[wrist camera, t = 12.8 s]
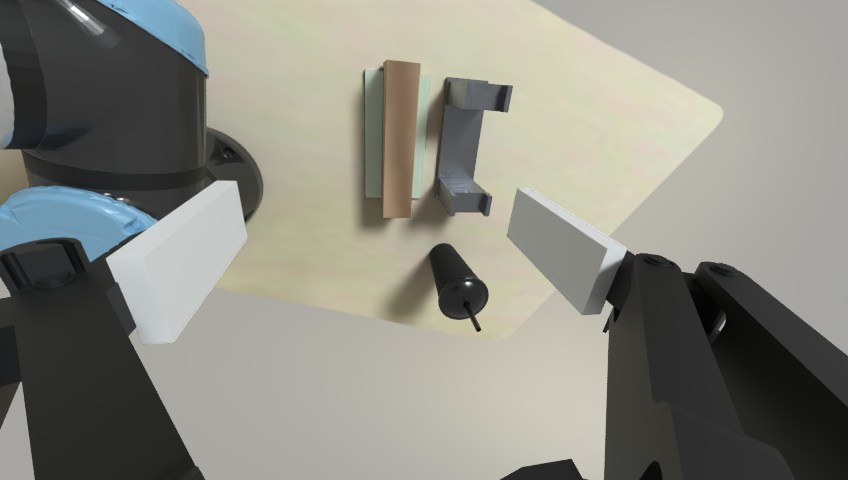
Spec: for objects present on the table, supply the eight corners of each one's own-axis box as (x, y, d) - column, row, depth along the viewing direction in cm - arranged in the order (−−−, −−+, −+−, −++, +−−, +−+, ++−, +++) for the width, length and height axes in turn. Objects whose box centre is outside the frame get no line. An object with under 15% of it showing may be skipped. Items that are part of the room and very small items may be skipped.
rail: (380, 203, 51) (383, 217, 45) (383, 62, 42) (387, 59, 36) (405, 203, 51) (410, 217, 46) (412, 65, 43) (420, 63, 37)
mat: (365, 196, 50) (365, 197, 50) (365, 69, 42) (365, 69, 42) (420, 197, 52) (420, 198, 51) (429, 75, 44) (430, 75, 43)
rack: (434, 197, 52) (449, 219, 44) (446, 77, 45) (466, 76, 36) (468, 198, 54) (488, 219, 45) (486, 81, 46) (514, 81, 37)
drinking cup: (449, 228, 56) (491, 295, 38) (469, 257, 59) (515, 331, 42) (414, 251, 56) (439, 328, 39) (435, 278, 60) (467, 360, 43)
